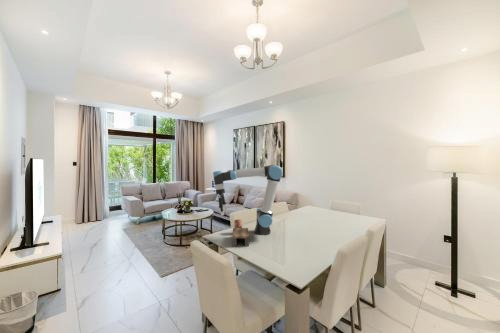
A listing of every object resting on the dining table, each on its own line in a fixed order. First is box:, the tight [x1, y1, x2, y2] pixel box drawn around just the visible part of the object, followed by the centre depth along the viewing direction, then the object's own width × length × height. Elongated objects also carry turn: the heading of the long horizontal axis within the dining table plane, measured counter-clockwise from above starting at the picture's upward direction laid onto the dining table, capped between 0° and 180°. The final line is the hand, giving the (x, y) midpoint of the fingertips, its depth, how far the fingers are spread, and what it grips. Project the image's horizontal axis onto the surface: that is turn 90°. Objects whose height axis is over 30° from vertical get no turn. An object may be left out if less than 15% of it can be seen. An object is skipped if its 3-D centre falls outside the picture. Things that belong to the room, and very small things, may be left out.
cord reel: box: [233, 219, 243, 228], centre depth 200 cm, size 7×7×12 cm
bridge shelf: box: [232, 227, 250, 247], centre depth 182 cm, size 13×20×8 cm, turn 3°
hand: (224, 213), depth 185 cm, fingers open, 13 cm apart
